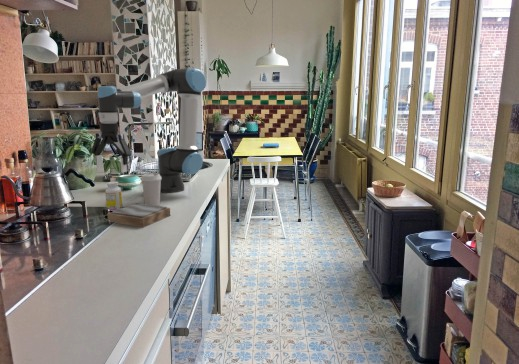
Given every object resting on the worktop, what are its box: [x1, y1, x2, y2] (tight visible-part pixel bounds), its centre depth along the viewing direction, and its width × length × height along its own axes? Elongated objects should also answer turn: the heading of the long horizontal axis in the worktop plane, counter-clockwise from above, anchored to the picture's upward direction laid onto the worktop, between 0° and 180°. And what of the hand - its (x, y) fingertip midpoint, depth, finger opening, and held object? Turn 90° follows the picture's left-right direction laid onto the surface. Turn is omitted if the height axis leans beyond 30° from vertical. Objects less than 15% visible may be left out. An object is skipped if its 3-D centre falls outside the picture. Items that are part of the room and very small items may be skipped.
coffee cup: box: [140, 172, 162, 206], centre depth 196 cm, size 10×10×15 cm
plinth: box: [107, 202, 171, 228], centre depth 177 cm, size 18×18×4 cm
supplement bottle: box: [104, 181, 123, 211], centre depth 189 cm, size 7×7×13 cm
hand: (111, 170), depth 186 cm, fingers open, 13 cm apart
